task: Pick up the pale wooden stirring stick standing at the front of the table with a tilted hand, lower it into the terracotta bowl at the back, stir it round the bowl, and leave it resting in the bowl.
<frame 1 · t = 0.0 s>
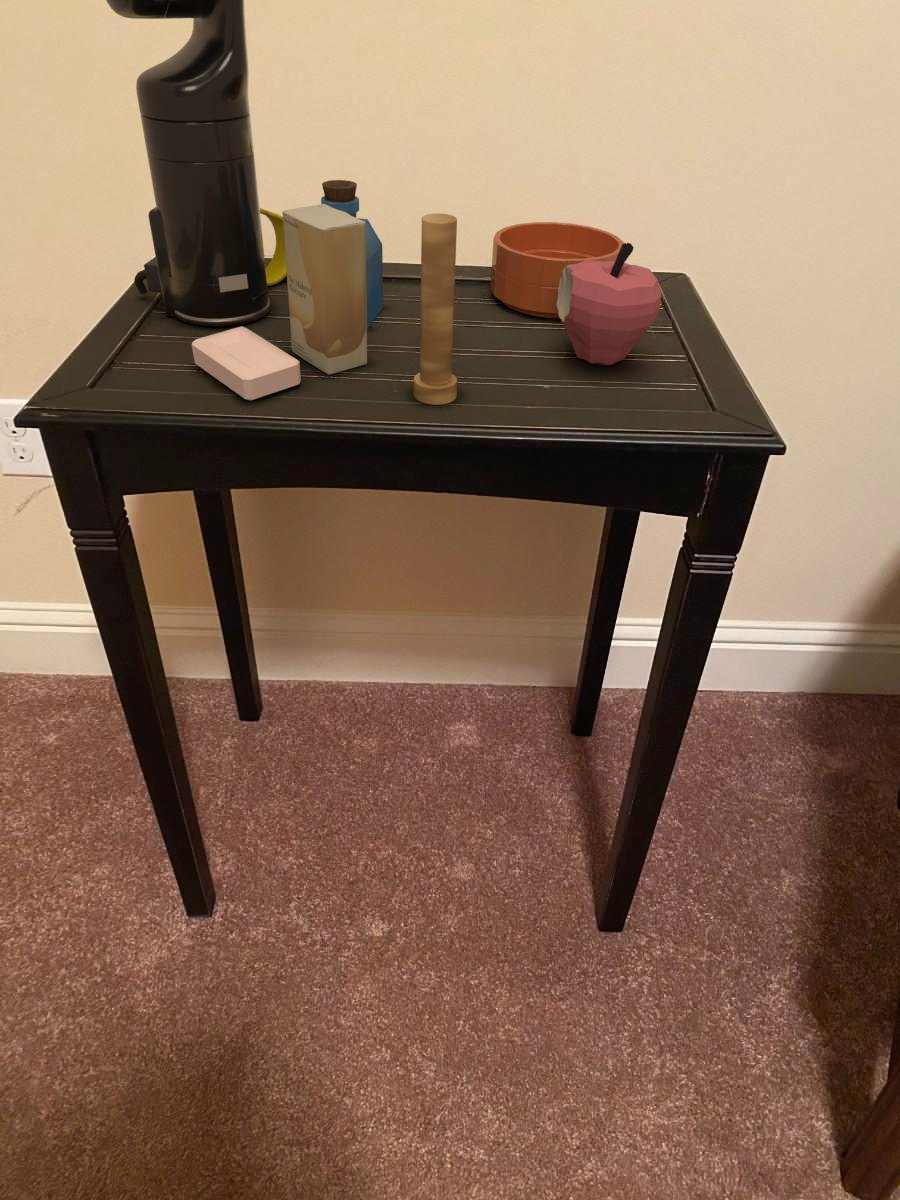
bracelet: (246, 243, 91), point 3 cm above the table
blue potion bottle: (345, 316, 85), on the table
apple: (599, 362, 78), on the table
soap bar: (248, 377, 73), on the table
bowl: (552, 299, 90), on the table
cosmetic box: (330, 361, 76), on the table
stick: (435, 395, 71), on the table
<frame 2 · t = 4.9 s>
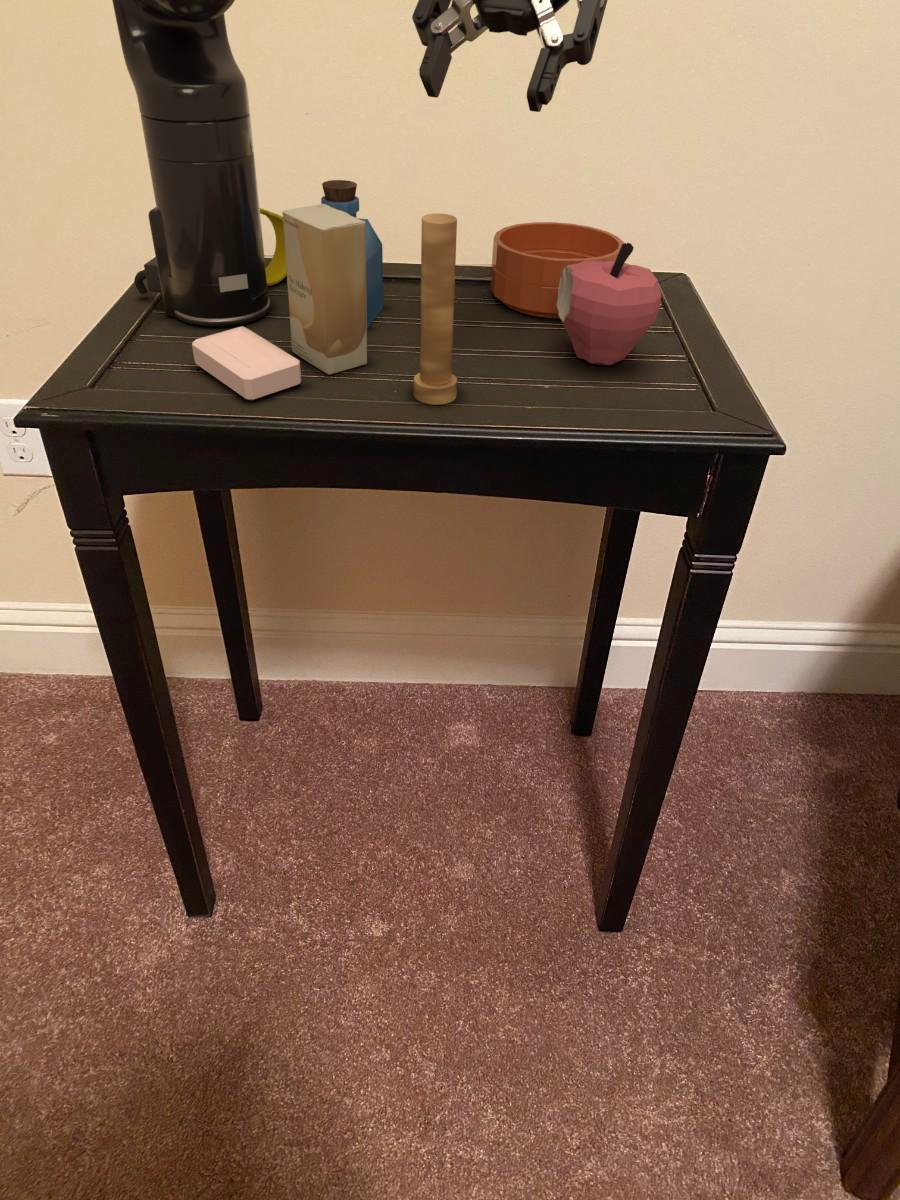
hand: (480, 97, 65), 21 cm above the table, tool tilted 45°, fingers open, 8 cm apart
nothing on the table moved.
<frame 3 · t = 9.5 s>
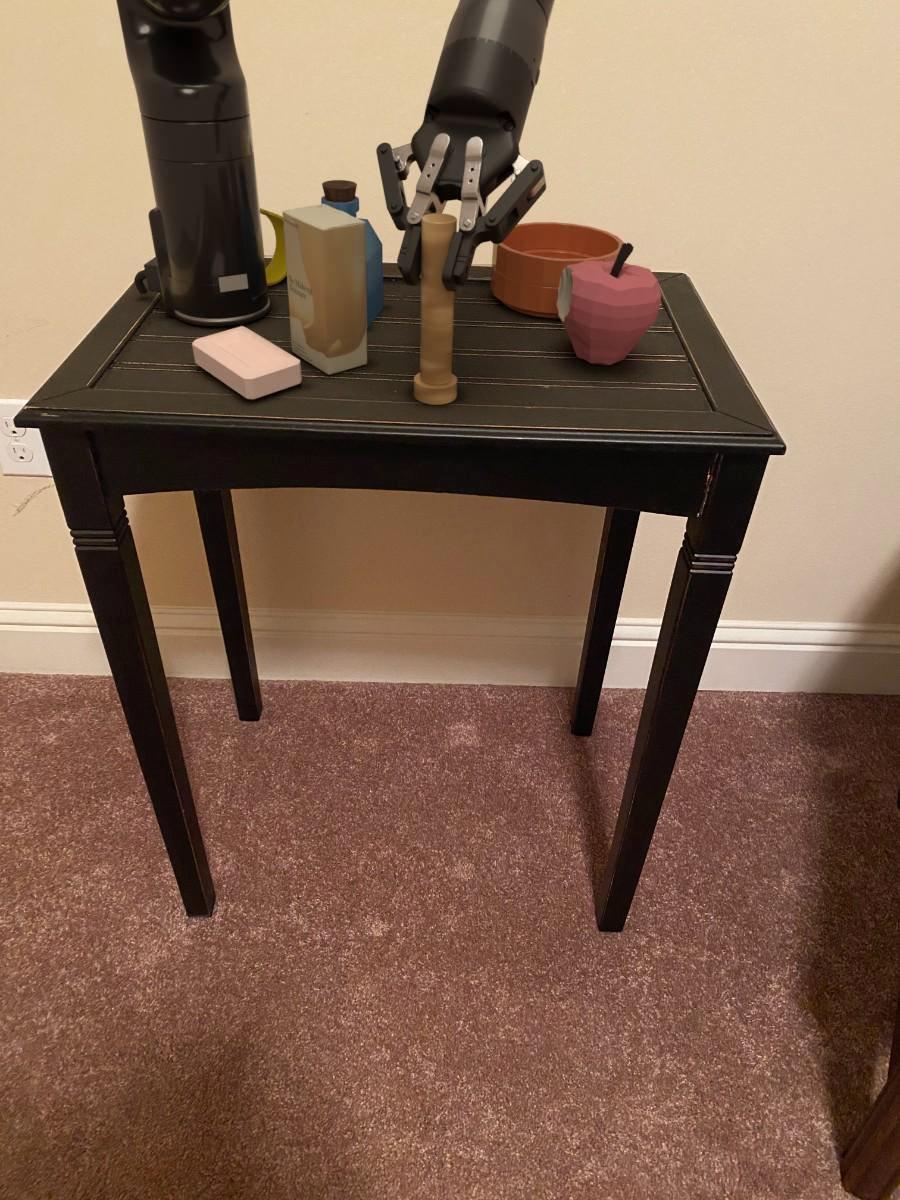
hand: (429, 282, 63), 10 cm above the table, tool tilted 45°, fingers closed on stick, 2 cm apart
stick: (435, 395, 71), on the table, touching gripper
everything else where it was.
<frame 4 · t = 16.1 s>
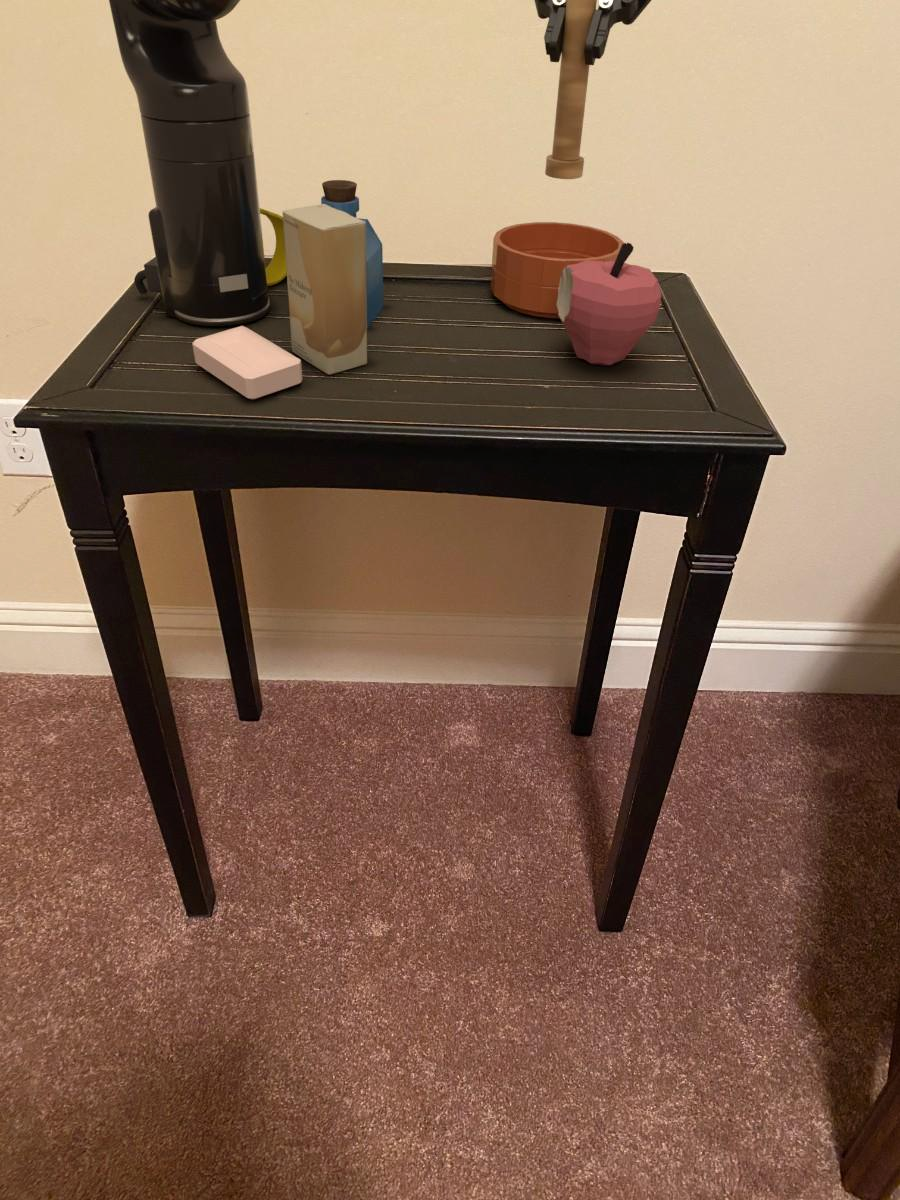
hand: (571, 56, 74), 22 cm above the table, tool tilted 45°, fingers closed on stick, 2 cm apart
stick: (563, 174, 82), point 12 cm above the table, touching gripper
everything else where it was.
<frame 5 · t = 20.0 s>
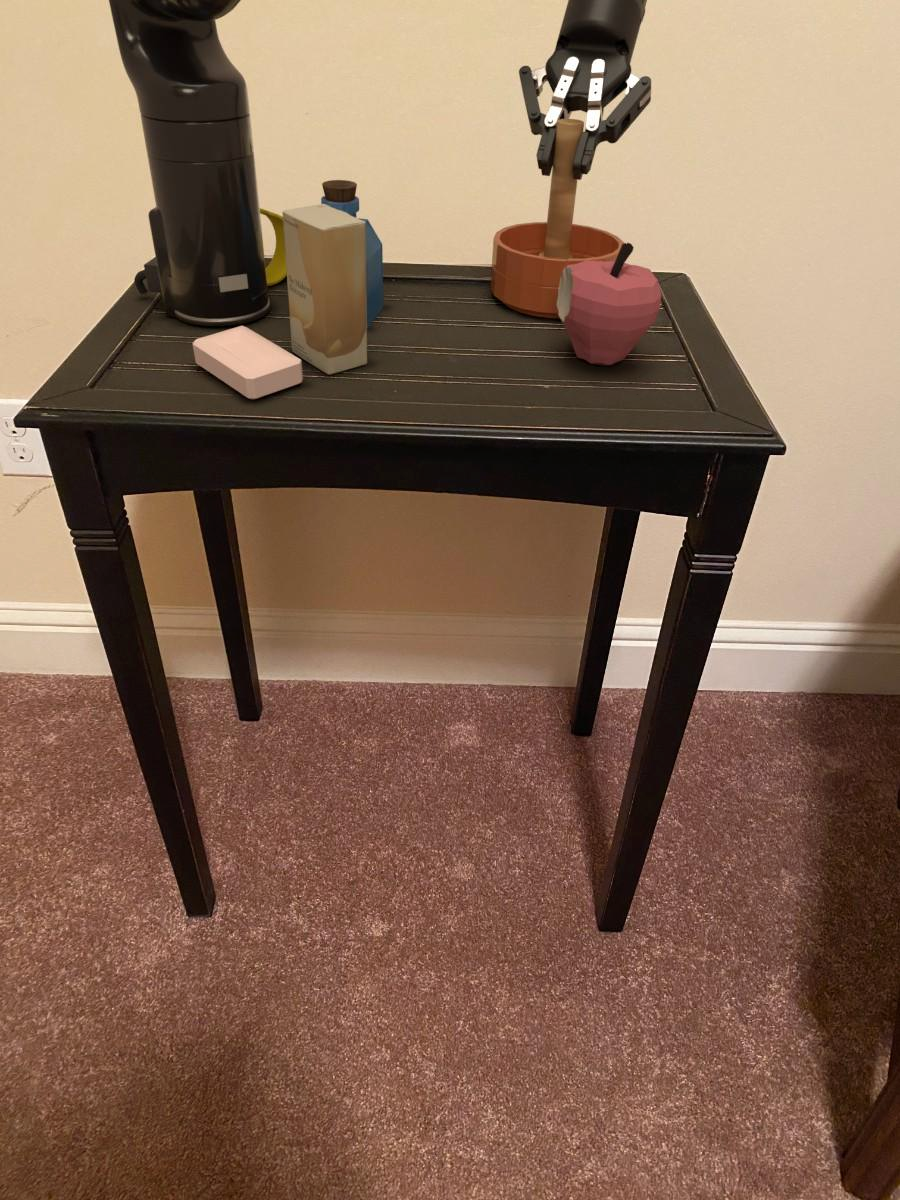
hand: (561, 171, 83), 12 cm above the table, tool tilted 45°, fingers closed on stick, 2 cm apart
stick: (554, 270, 90), point 2 cm above the table, touching gripper
everything else where it was.
when the fingers open (11 cm above the table, at t = 23.0 s): stick stays where it is, resting on bowl.
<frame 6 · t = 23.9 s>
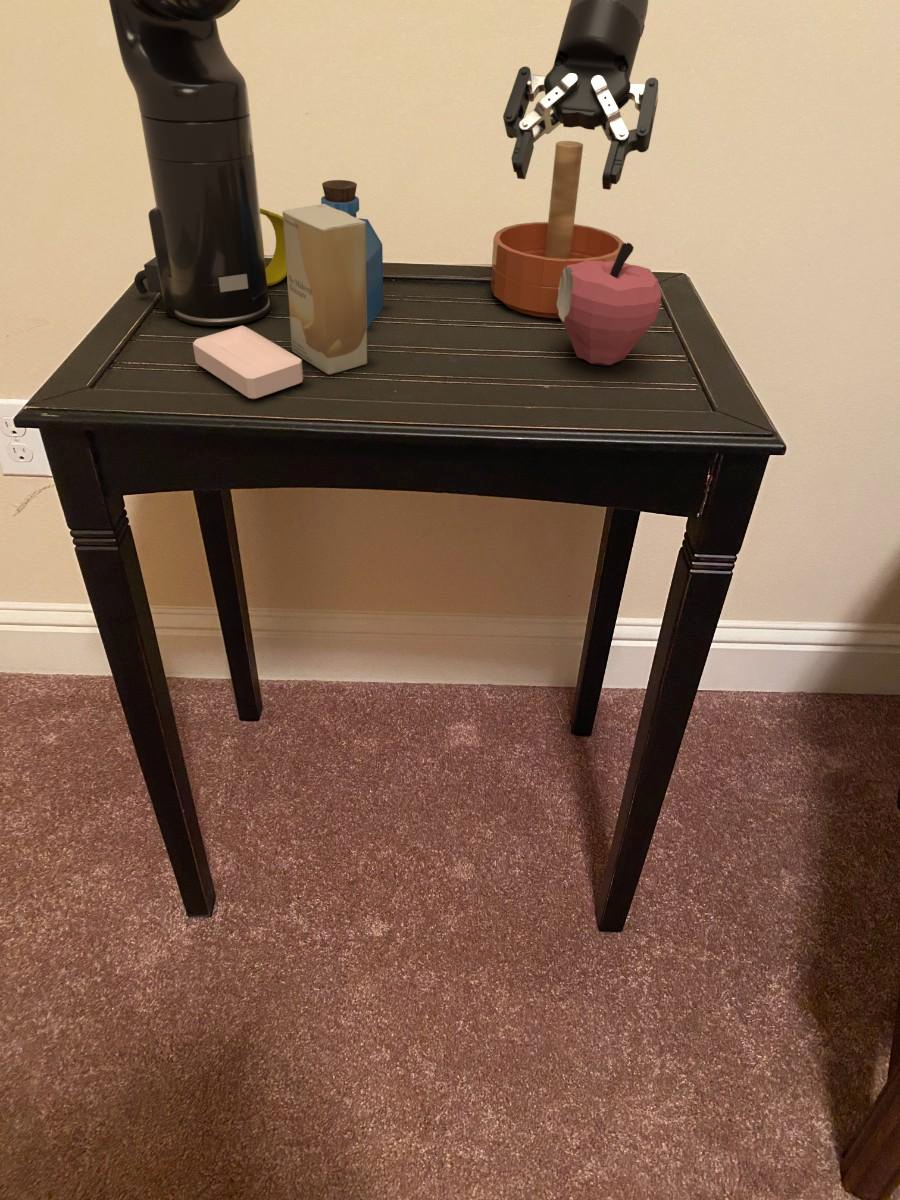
hand: (562, 179, 82), 12 cm above the table, tool tilted 45°, fingers open, 8 cm apart
stick: (553, 291, 90), point 1 cm above the table, touching bowl
everything else where it was.
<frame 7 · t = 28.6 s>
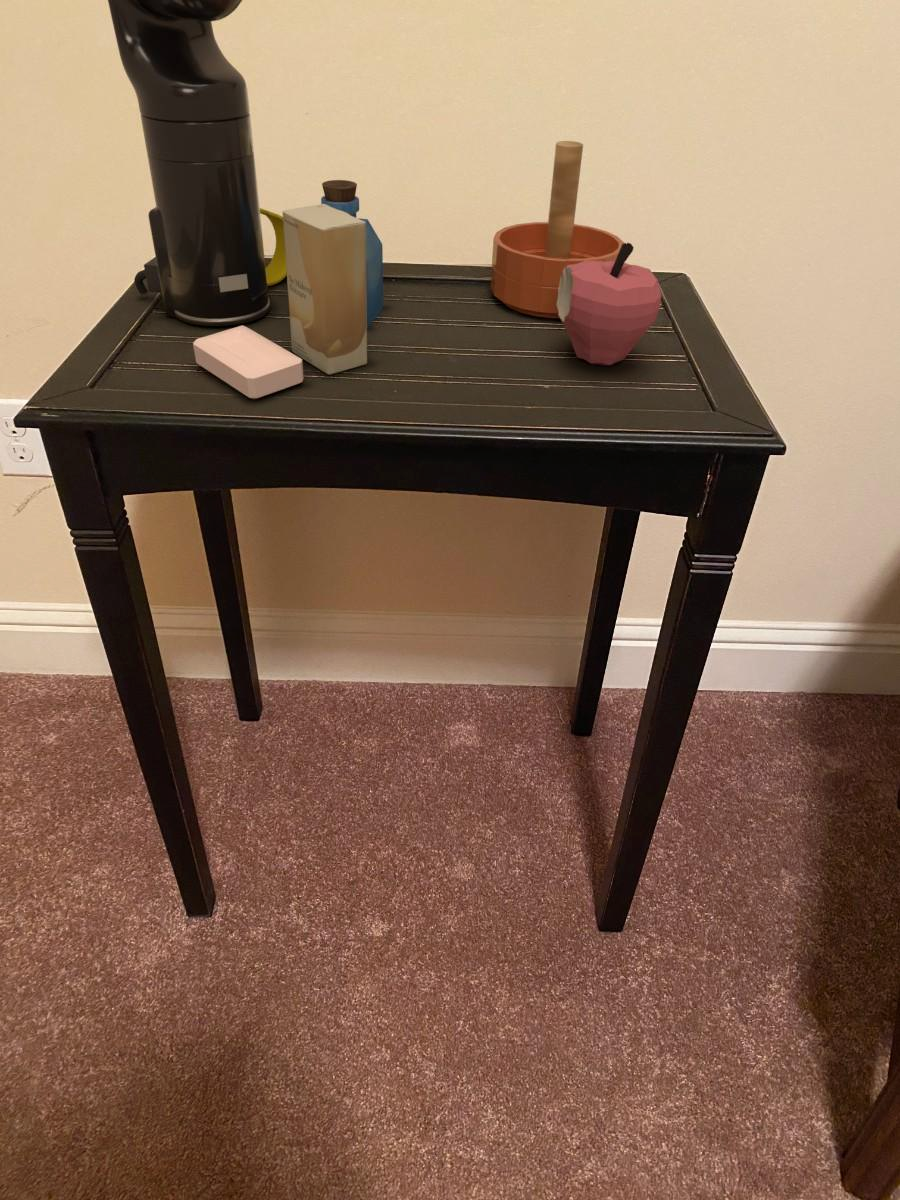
nothing on the table moved.
at the end: stick inside the target area in the bowl (0.1 cm from its centre), point 0.8 cm above the bowl's base; stick moved 27.3 cm from its start; the gripper is holding nothing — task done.
